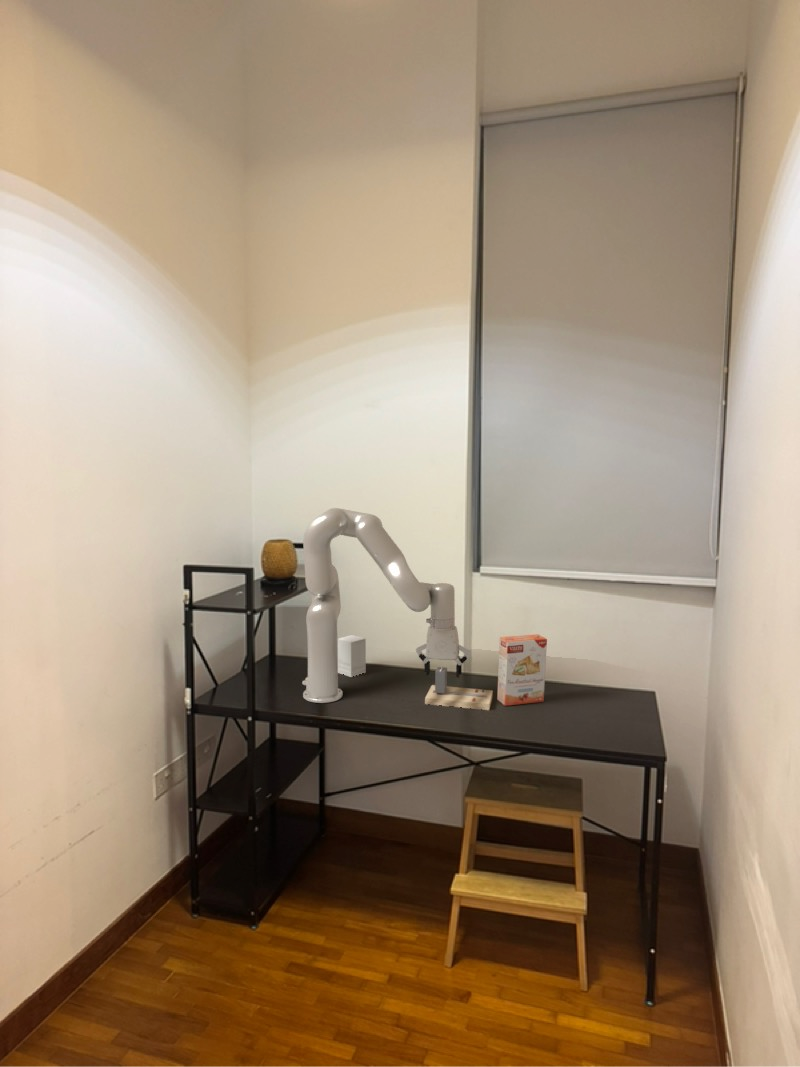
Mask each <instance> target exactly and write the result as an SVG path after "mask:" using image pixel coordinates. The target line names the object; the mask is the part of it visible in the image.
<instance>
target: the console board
mask: <svg viewBox="0 0 800 1067" xmlns="http://www.w3.org/2000/svg"><path fill="white" fill-rule="evenodd" d="M493 693H494V691H493V690H491V689H480V688H479V689H478V688H468V687H457V686H447V689H446V691H445V693H435V684H432V685H431V686H430V688H429V690H428V692H427V694H426V695H425V697H424V705H428V704H430V705H431V706H439V705H442V707H449V706H454V707H453V708H460V707H462V708H463V709H470V708H471V709H473V710H481V709H482V711H483V710H484V711H490V708H491V704H492V701H493V697H494V695H493ZM430 705H429V706H430Z"/></svg>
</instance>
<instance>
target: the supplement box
mask: <svg viewBox="0 0 800 1067" xmlns="http://www.w3.org/2000/svg"><path fill="white" fill-rule="evenodd" d="M366 644H367V642H366V637H362V636H357V635H355V634H354V635H353V634H350V635H346V636H342V637H339V638H338V674H340V675H343V674H344V675H343V676H346V677H349V678H353V676H354V677H357V676H360V675H359V674H361V675H363V674H362V673H364V674H366V672H367V669H366V667H367V666H366V665H367V664H366V661H367V660H366V654H367V653H366V651H367V650H366ZM356 675H357V676H356Z"/></svg>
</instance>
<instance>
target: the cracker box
mask: <svg viewBox="0 0 800 1067" xmlns="http://www.w3.org/2000/svg"><path fill="white" fill-rule="evenodd" d="M547 642H548V639H547V638H546V637H544V636H541V635H540V634H539V633H537V634H527V635H513V636H501V637H499V648H498V649H499V651H498V670H497V671H498V674H497V697H496V700H497V701H498V702H499V703H501V704H502V705H503V706H505V707H507V706H515V705H516V706H517V705H523V704H524V705H525V704H532V703H543V702H544V701H545V700H544V698H545V682H546V664H547V647H548V646H547V645H548V643H547Z"/></svg>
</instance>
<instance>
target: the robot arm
mask: <svg viewBox="0 0 800 1067" xmlns="http://www.w3.org/2000/svg"><path fill="white" fill-rule="evenodd" d="M340 535H341V536H344V537H350V538H356V539H357V540H358V542H359V543H360V544H361V545H362V547H363V548H364V549H365V551H367V553H368V555H369V556H370V557H371V558H372V559H373V561H374V562H375V564H376V565H377V566H378V567H379V569H380V570H381V572H382V574H383V575H384V576H385V578H386V580H387V581H388V582H389V584H390V586H392V588H393V589H394V591H395V592H396V594H397V595H398V596H399V597H400V598H401V600H402V601H403V603H404V604H405V605H406V606H407V608H408V609H409V610H411V611H413V612H416V613H420V612H424V611H426V610H427V609H428V608H429V607H430V618H426V621H425V622H426V623H428V624H429V626H428V627H427V632H426V643H424V644H421V645H420V646H418V647H416V648H415V651H416V653H417V655H418V658H419V659H420V660H421V661H422V662H423V663H424V673H425V676H427V677H428V676H429V675H431V674H430V673H431V661H430V660H438V661H439V660H440V661H441V660H442V661H454V662H456V666H455V668H456V669H455V670H456V671H455V672H456V673H455V674H456V675H455V676H456V677H455V678H460V676H461V675H462V673H463V670H462V668H463V667H462V666H463V664H464V663H465V662H466V661H467V659H468V658H469V655H470V654H471V650H469V649H468V648H467V647H464V646H463V645H460V640H459V633H458V632H459V631H458V628H457V626H456V623H455V619H456V618H455V617H456V616H455V607H456V606H455V603H456V602H455V601H456V600H455V596H456V595H455V592H456V591H455V587H454V585H452V584H451V583H445V582H444V583H443V582H441V583H429V582H420V581H419V580H418V579H417V577H416V576H415V575H414V573H413V571H412V570H411V568H410V567H409V566H410V565H409V564H408V562H407V559H406V557H405V555H404V553H403V551H402V550H401V548H400V547H399V546H398V545H397V544H396V542H395V541H394V540H393V538H392V537H391V536H390V535H389V534H388V531H386V529H385V527H383V523H382V520H381V519H380V518H379V517H378V516H377V515H375V514H371V513H365V512H362V511H361V512H360V511H354V510H349V509H344V508H338V507H337V508H336V507H334V508H333V507H332V508H329V509H327V510H326V511H324V512H322V513H321V514H320V515H318V516H317V517H315V518H314V519H313V520H312V521H311V522H309V524H308V525H307V526H306V529H305V531H304V533H303V540H302V541H303V542H302V545H303V547H302V548H303V560H304V561H303V562H304V574H305V575H304V576H305V579H304V580H305V581H304V582H305V587H306V589H307V590H308V591H309V593H310V596H311V599H310V600H311V604H310V606H309V607H308V609H307V612H306V615H305V619H306V620H305V623H306V637H307V676H306V677H305V679H303V680H302V683H301V685H304V686H305V687H306V688H305V690H304V691H303V693H302V697H303V699H304V700H306V701H307V702H311V703H315V704H316V703H318V704H327V703H333V702H336V701H338V700H340V699H341V698H343V695H344V694H343V690H342V689H341V688H339V682H338V680H339V677H338V676H339V673H338V639H339V638H338V636H339V635H338V618H339V615H340V613H341V608H342V606H341V605H342V604H341V594H340V593H341V592H340V580H339V579H340V578H339V574H338V570H337V568H336V567H335V565H333V561H332V550H331V549H332V548H331V543H332V541H333V539H334V538H335V539H336V538H337V537H338V536H340ZM424 650H425V653H426V654H424V653H423V651H424ZM460 652H461V653H463V654H464V655H463V656H461V657H460Z"/></svg>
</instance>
